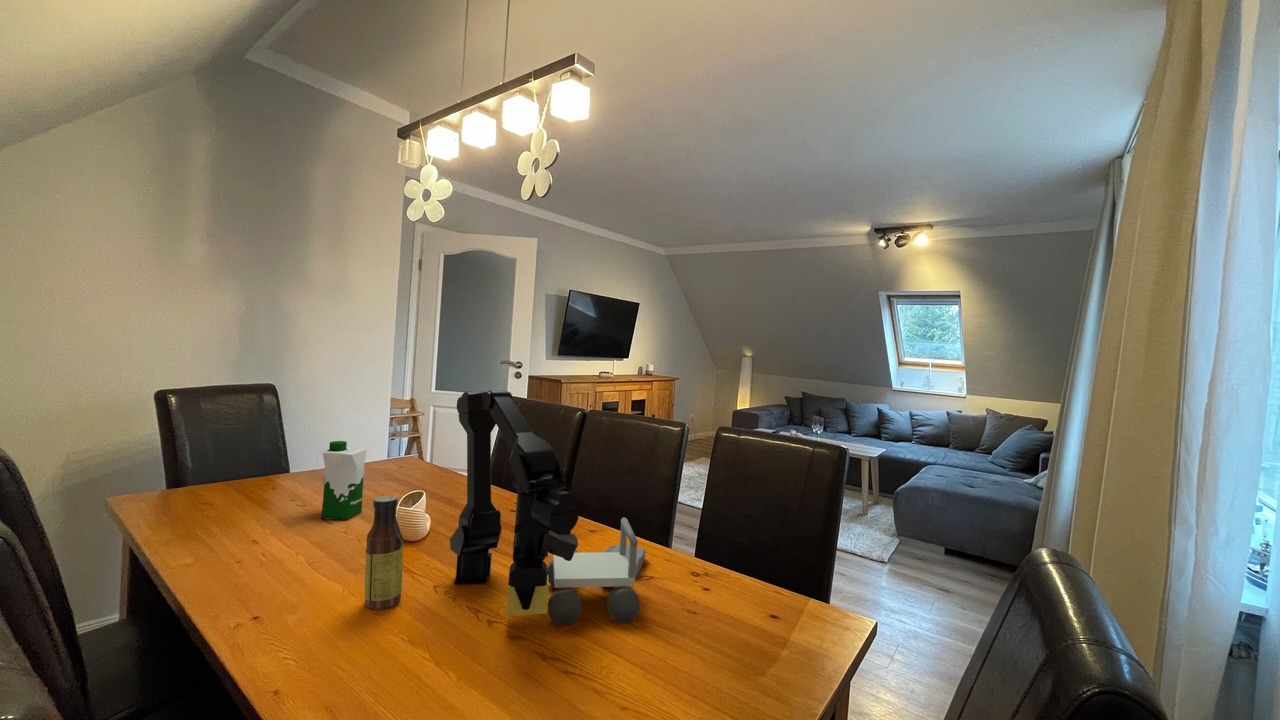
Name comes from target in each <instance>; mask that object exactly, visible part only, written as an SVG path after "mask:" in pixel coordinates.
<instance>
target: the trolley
mask: <svg viewBox="0 0 1280 720" xmlns="http://www.w3.org/2000/svg"><path fill="white" fill-rule="evenodd" d="M634 532H635V531H633V528H632V527H631V525H630V522H629V520H628V518H626V517H622V518H621V519H620V534H619V535H620V536H619V545H620V547H619V552H604V551H602V552H597V551H596V552H575V553H574V555H573V558H572V560H571V561H567V560H564V558H562V557H559V556H556V555H553V554H552V555H553V557H552V560H551V561H550V562H549V563H548V564H547V575H548V584H549V585H550V586H552V587H553V588H555V589H556V590H555V591H554V592H553V593H551V595H550V596H549V597H548V602H547V614H548V617H549V619H550V620H551V621H552V622H553V623H554V624H556V625H558V626H568V625H570V624H572V623H574V622H575V621H576V620H577V619H578V618H580V615H581V613H582V602H581V597H580V595H579V593H578V592H577V590H575V589H573V588H600V587H601V588H602V587H603V588H604V587H605V588H606V587H607V588H612V589H613V588H614V589H613V590H612V591H611V592H610V593H609V595H608V597H607V599H606V600H607V601H606V607H607V610H608V613H609V617H610V618H611V620H613V621H615V623H619V624H627V623H630V622H632V621H633V620H635V619H636V618H637V616H638V615H639V613H640V611H641V600H640V598H639V596H638V593H637V592H636V591H635V589H633V588H632V587H635V582H636V578H635V568H636V554H637V547H638V543H639V542H638V538H637V537H636V535H635V533H634ZM627 540H628V541H629V545H630V547H629V562H628V559H627V557H626V545H627Z"/></svg>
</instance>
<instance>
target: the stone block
mask: <svg viewBox="0 0 1280 720" xmlns="http://www.w3.org/2000/svg"><path fill="white" fill-rule="evenodd" d="M619 547H620V544H614V545H610V546H608V547H607V549H605V550H604V551H603V552H619ZM629 547H630V544H626V557H627V559H628V562H629ZM645 559H646V548H645V547H643V548H641V547H638V546H637V554H636V568H635V579H636V578H637V576H638V575H639V573H640V570H641V568H642V566H643V564H644V562H645Z"/></svg>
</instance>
